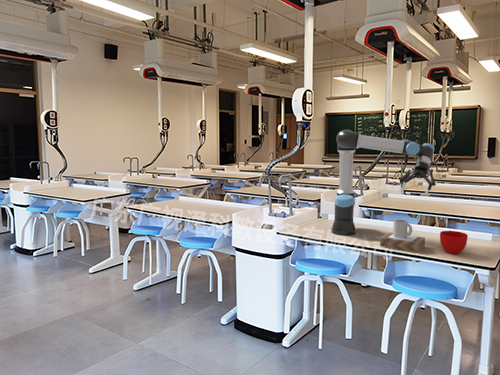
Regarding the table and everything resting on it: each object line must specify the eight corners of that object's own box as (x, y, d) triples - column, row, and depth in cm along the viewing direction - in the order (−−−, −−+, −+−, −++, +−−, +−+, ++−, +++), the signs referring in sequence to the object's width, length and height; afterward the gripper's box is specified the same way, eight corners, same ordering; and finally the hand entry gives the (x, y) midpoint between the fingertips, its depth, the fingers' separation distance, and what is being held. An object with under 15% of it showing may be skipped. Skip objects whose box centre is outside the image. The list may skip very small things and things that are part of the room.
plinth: (379, 246, 221) (380, 237, 221) (388, 240, 232) (388, 231, 232) (417, 252, 209) (418, 242, 209) (424, 246, 220) (425, 237, 220)
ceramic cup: (455, 246, 220) (456, 229, 218) (471, 256, 203) (472, 237, 202) (431, 246, 220) (432, 229, 219) (445, 256, 203) (446, 237, 202)
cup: (395, 234, 226) (396, 219, 225) (413, 237, 220) (414, 221, 219) (391, 237, 221) (391, 221, 219) (409, 239, 214) (410, 223, 213)
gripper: (445, 170, 235) (437, 198, 226) (402, 168, 250) (393, 194, 241) (444, 162, 230) (435, 190, 221) (400, 160, 246) (390, 187, 236)
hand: (413, 193), depth 231 cm, fingers open, 13 cm apart
